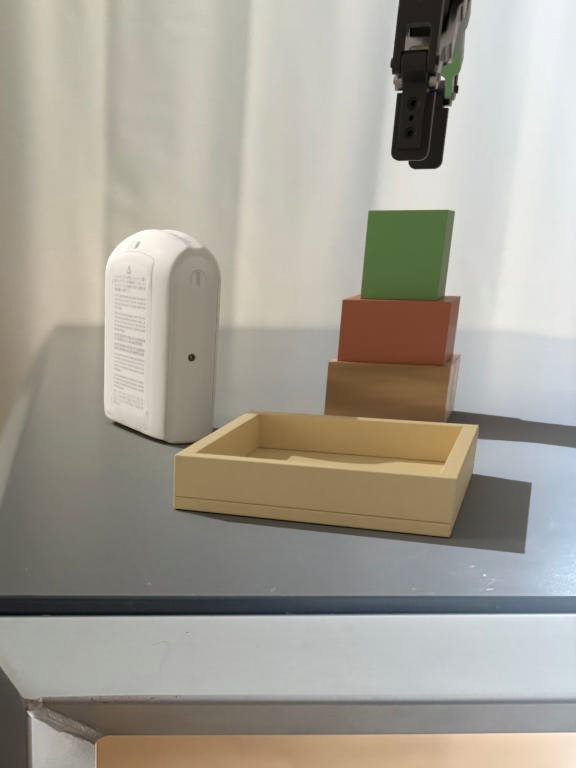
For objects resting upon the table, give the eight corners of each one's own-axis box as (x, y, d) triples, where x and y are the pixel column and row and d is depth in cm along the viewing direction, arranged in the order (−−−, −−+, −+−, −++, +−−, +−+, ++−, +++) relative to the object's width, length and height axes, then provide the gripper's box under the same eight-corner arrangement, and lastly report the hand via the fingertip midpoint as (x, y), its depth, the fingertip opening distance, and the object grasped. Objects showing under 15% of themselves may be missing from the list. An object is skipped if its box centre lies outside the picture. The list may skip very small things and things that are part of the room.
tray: (248, 454, 59) (250, 409, 58) (472, 472, 54) (479, 424, 53) (172, 508, 47) (174, 454, 46) (449, 538, 43) (457, 478, 42)
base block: (344, 403, 76) (349, 349, 75) (453, 410, 73) (461, 354, 72) (323, 420, 69) (328, 361, 68) (442, 428, 67) (450, 366, 65)
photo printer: (223, 441, 63) (233, 228, 58) (162, 446, 61) (167, 228, 56) (150, 415, 71) (154, 229, 67) (96, 420, 70) (95, 229, 65)
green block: (371, 295, 71) (379, 211, 69) (444, 296, 70) (455, 210, 67) (360, 299, 67) (368, 210, 65) (437, 300, 65) (448, 209, 63)
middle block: (354, 350, 74) (360, 293, 73) (453, 354, 72) (460, 296, 70) (336, 361, 68) (342, 299, 67) (443, 365, 66) (451, 301, 64)
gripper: (515, -190, 52) (469, 156, 58) (522, -109, 64) (484, 170, 70) (368, -169, 54) (339, 159, 61) (402, -96, 67) (375, 172, 73)
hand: (417, 165), depth 65 cm, fingers open, 8 cm apart
